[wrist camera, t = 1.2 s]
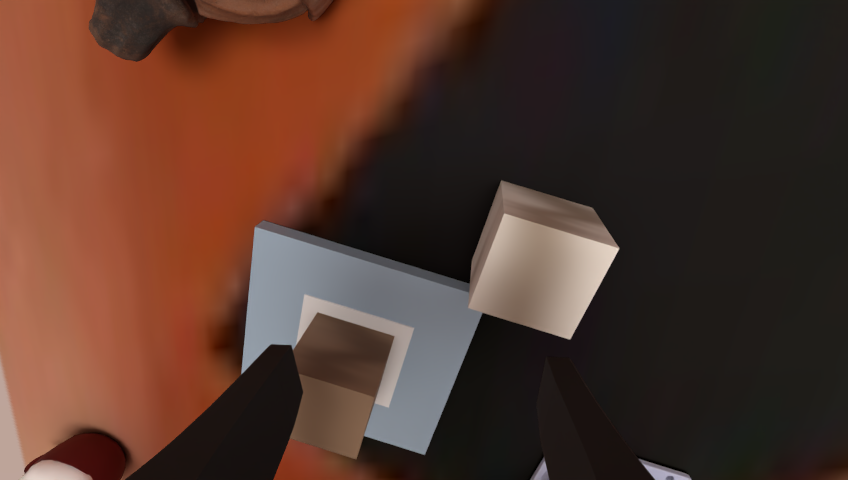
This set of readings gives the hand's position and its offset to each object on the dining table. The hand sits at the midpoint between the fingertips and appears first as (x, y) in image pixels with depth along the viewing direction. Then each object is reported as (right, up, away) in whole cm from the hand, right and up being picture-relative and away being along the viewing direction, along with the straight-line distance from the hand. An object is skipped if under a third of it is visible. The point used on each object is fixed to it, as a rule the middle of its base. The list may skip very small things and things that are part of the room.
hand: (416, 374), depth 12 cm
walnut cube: (-5, -3, +15) cm, 16 cm away
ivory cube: (+6, +4, +11) cm, 13 cm away
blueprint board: (-5, -3, +16) cm, 17 cm away
